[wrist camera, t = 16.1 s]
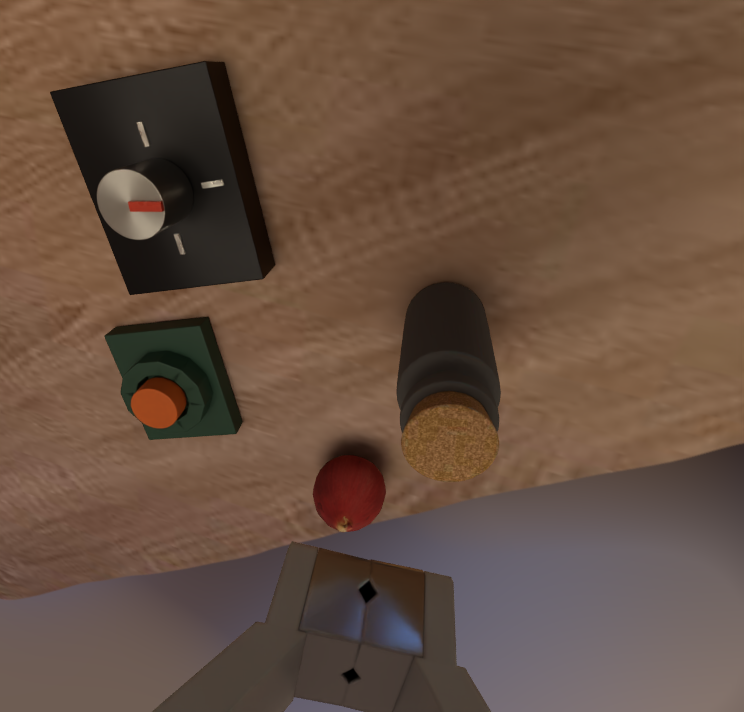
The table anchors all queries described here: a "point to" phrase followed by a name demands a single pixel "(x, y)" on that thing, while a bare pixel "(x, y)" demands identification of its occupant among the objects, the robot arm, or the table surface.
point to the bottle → (448, 385)
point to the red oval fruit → (349, 493)
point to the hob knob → (144, 198)
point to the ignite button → (158, 402)
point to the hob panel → (188, 152)
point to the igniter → (178, 373)
